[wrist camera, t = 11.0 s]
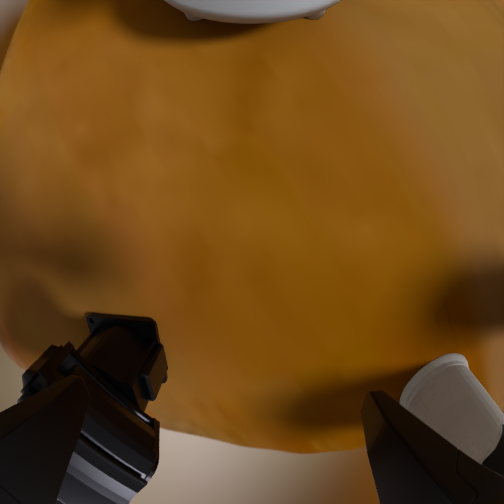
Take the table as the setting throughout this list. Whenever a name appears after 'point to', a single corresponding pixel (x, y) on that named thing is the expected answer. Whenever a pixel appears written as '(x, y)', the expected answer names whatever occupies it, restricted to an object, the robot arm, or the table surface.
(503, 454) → the glass holder
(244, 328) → the table surface
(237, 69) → the table surface
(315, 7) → the round white stand
